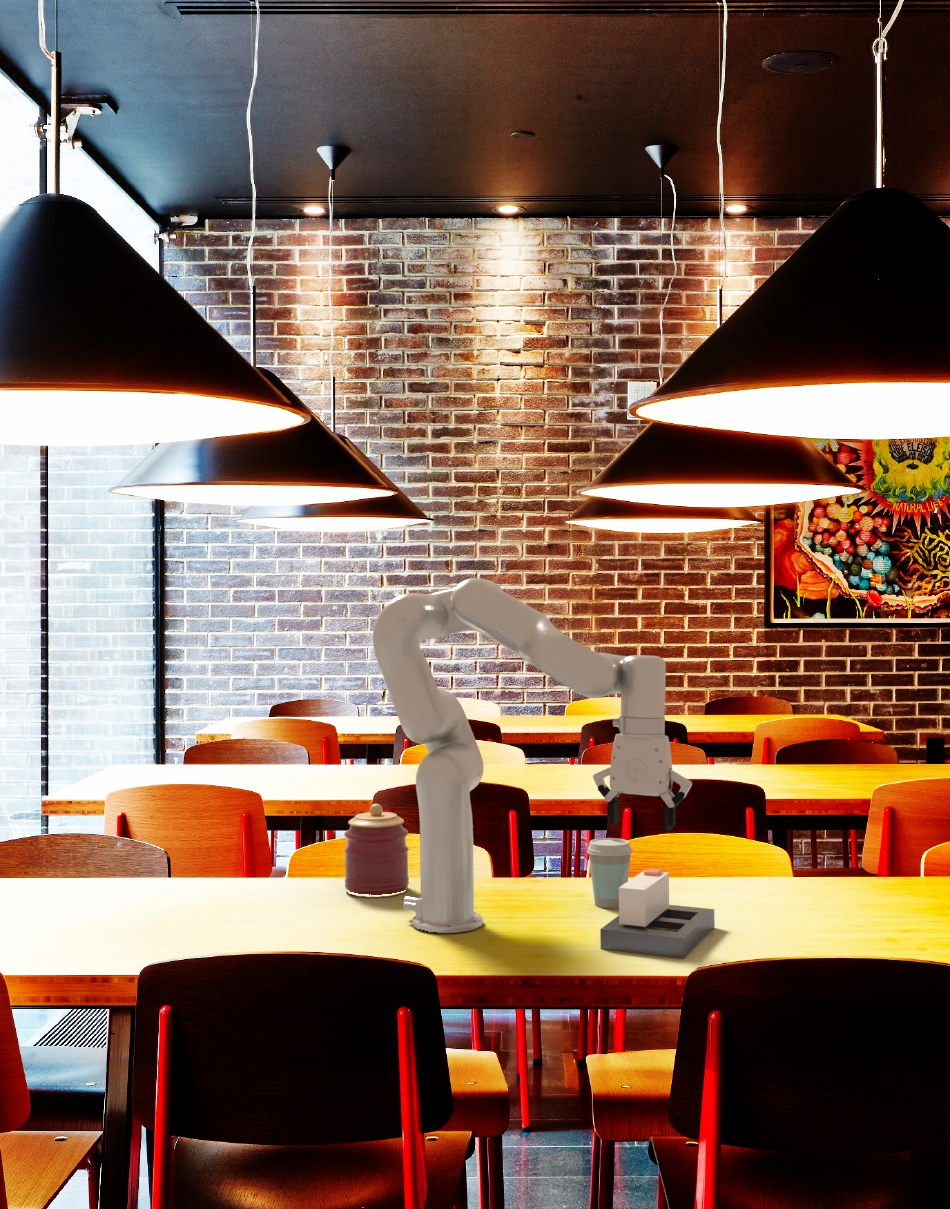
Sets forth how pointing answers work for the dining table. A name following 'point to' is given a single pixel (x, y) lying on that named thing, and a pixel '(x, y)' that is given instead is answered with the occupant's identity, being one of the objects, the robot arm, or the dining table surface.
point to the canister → (376, 853)
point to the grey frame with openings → (661, 933)
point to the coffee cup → (608, 869)
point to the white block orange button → (644, 898)
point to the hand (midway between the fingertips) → (640, 826)
